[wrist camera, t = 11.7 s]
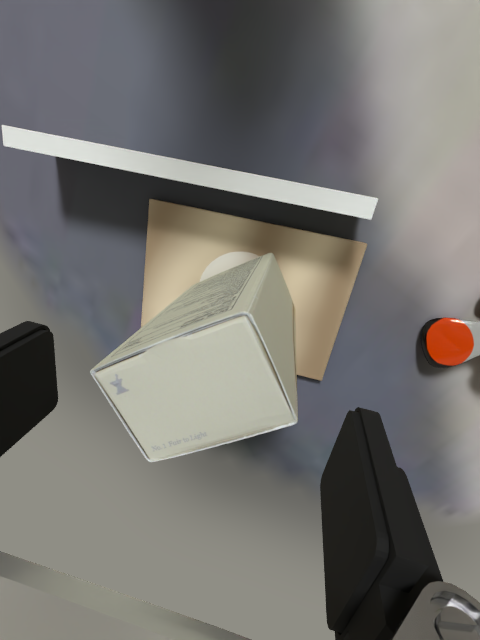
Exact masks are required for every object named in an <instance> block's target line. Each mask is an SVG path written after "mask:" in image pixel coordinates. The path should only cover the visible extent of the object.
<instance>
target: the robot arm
mask: <svg viewBox="0 0 480 640" xmlns="http://www.w3.org/2000/svg"><path fill="white" fill-rule="evenodd" d="M57 402H58V391H57V378H56V365H55V353H54V339H53V334H52V332H50V329H49V328H48V327H47V326H45V325H42V324H38V323H34V322H30V321H26V322H23V323H21V324H19V325H17V326H15V327H13V328H11V329H9V330H7V331H5V332H2V333H1V334H0V457H1V456H2V455H3V454H4V453H5V452H6V451H7V450H9V449H10V448H11V447H12V446H13V445H14V444H15V443H16V442H18V441H19V440H20V439H21V438H22V437H23V436H24V435H25V434H26V433H28V432H29V431H30V430H31V429H32V428H33V427H35V426H36V425H37V424H38V423H39V422H40V421H41V420H42V419H44V418H45V417H46V416H47V415H48V414H49V413H50V412H51V411H52V410H53V409H54V408H55V407H56V405H57ZM320 491H321V510H322V532H323V552H324V571H325V591H326V613H327V624H328V628H329V629H330V630H333V631H335V640H480V603H479V602H478V601H477V600H476V599H475V598H473V597H472V596H471V595H469V594H468V593H467V592H466V591H464V590H462V589H460V588H458V587H457V586H455V585H453V584H450V583H446V582H443V579H442V576H441V574H440V571H439V568H438V565H437V562H436V559H435V557H434V553H433V551H432V548H431V545H430V542H429V539H428V536H427V533H426V531H425V528H424V525H423V522H422V519H421V516H420V513H419V510H418V508H417V505H416V502H415V499H414V496H413V493H412V490H411V487H410V485H409V482H408V479H407V476H406V474H405V472H404V471H403V470H402V469H401V468H398V467H397V466H396V463H395V460H394V457H393V454H392V451H391V447H390V444H389V441H388V438H387V435H386V432H385V429H384V426H383V423H382V420H381V417H380V414H379V413H378V412H374V411H371V410H367V409H363V408H359V407H358V408H356V410H355V411H349V412H348V413H347V415H346V418H345V420H344V423H343V425H342V428H341V430H340V432H339V435H338V437H337V440H336V442H335V445H334V447H333V450H332V452H331V455H330V457H329V460H328V462H327V464H326V467H325V469H324V472H323V474H322V478H321V485H320ZM0 640H250V639H248V638H245V637H242V636H240V635H237V634H235V633H232V632H229V631H227V630H224V629H221V628H218V627H216V626H213V625H210V624H207V623H204V622H201V621H199V620H196V619H193V618H190V617H187V616H184V615H181V614H179V613H176V612H173V611H170V610H167V609H164V608H162V607H159V606H156V605H153V604H150V603H147V602H145V601H142V600H139V599H136V598H133V597H130V596H128V595H125V594H122V593H119V592H116V591H113V590H111V589H108V588H105V587H102V586H99V585H96V584H93V583H91V582H88V581H85V580H82V579H79V578H76V577H73V576H70V575H67V574H65V573H62V572H58V571H56V570H53V569H50V568H47V567H44V566H42V565H39V564H36V563H33V562H29V561H27V560H24V559H21V558H18V557H15V556H12V555H10V554H7V553H4V552H1V551H0Z"/></svg>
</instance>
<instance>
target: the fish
mask: <svg viewBox="0 0 480 640" xmlns="http://www.w3.org/2000/svg"><path fill="white" fill-rule="evenodd" d="M421 345H422V349H423V352H424V355H425V357H426V359H427V361H428V363H429V364H430V365H432V366H434V367H439V368H446V367H452V366H455V365H458V364H461V363H464V362H466V361H468V360H470V359H472V358H475V357H477V356H480V321H477V322H473V321H466V320H461V319H455V318H436V319H432V320H430V321H428V322H427V323H426V324H425V325H424V327H423V329H422V334H421Z"/></svg>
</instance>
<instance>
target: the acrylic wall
mask: <svg viewBox="0 0 480 640" xmlns="http://www.w3.org/2000/svg"><path fill="white" fill-rule="evenodd" d="M2 134H3V144H4V146H7V147H12V148H17V149H22V150H27V151H32V152H37V153H42V154H47V155H52V156H57V157H62V158H67V159H72V160H77V161H82V162H87V163H92V164H97V165H102V166H107V167H112V168H117V169H122V170H127V171H132V172H137V173H142V174H147V175H152V176H156V177H161V178H166V179H171V180H176V181H181V182H186V183H191V184H196V185H201V186H206V187H211V188H216V189H221V190H226V191H231V192H236V193H241V194H246V195H251V196H256V197H261V198H266V199H271V200H276V201H281V202H286V203H291V204H296V205H301V206H306V207H310V208H315V209H320V210H325V211H330V212H335V213H340V214H345V215H350V216H355V217H360V218H365V219H370V220H371V219H372V216H373V213H374V210H375V207H376V204H377V201H378V198H373V197H368V196H363V195H358V194H353V193H348V192H343V191H338V190H332V189H327V188H322V187H317V186H312V185H307V184H302V183H297V182H292V181H286V180H281V179H276V178H271V177H266V176H261V175H256V174H251V173H245V172H240V171H235V170H230V169H225V168H220V167H215V166H210V165H205V164H199V163H194V162H189V161H184V160H179V159H174V158H169V157H164V156H159V155H153V154H148V153H143V152H138V151H133V150H128V149H123V148H118V147H112V146H107V145H102V144H97V143H92V142H87V141H82V140H77V139H72V138H66V137H61V136H56V135H51V134H46V133H41V132H36V131H31V130H25V129H20V128H15V127H10V126H5V125H2Z"/></svg>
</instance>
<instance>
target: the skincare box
mask: <svg viewBox="0 0 480 640" xmlns="http://www.w3.org/2000/svg"><path fill="white" fill-rule="evenodd" d="M295 323H296V321H295V306H294V304H293V301H292V298H291V295H290V293H289V290H288V288H287V285H286V283H285V280H284V278H283V275H282V273H281V270H280V268H279V265H278V263H277V261H276V258H275V256H274V254H273V253H268V254H265V255H263V256H260V257H257V258H255V259H252V260H250V261H247V262H245V263H243V264H240V265H238V266H235V267H233V268H230V269H228V270H226V271H223V272H221V273H219V274H216V275H214V276H212V277H210V278H207V279H205V280H203V281H201V282H199V283H196V284H194V285H192V286H191V287H190V288H189V289H188V290H186V291H185V292H184V293H183V294H182V295H180V296H179V297H178V298H177V299H176V300H174V301H173V302H172V303H171V304H170V305H168V306H167V307H166V308H165V309H164V310H162V311H161V312H160V313H159V314H158V315H156V316H155V317H154V318H153V319H151V320H150V321H149V322H148V323H147V324H145V325H144V326H143V327H142V328H141V329H139V330H138V331H137V332H136V333H135V334H133V335H132V336H131V337H130V338H129V339H128V340H126V341H125V342H124V343H123V344H122V345H120V346H119V347H118V348H117V349H115V350H114V351H113V352H112V353H110V354H109V355H108V356H107V357H106V358H105V359H103V360H102V361H101V362H100V363H99V364H97V365H96V366H95V367H94V368H93V369H92V370H91V371H90V374H91V375H92V376H93V378H94V379H95V381H96V382H97V384H98V385H99V387H100V389H101V391H102V392H103V394H104V395H105V397H106V398H107V400H108V402H109V403H110V405H111V406H112V408H113V410H114V411H115V413H116V414H117V416H118V417H119V419H120V420H121V422H122V423H123V425H124V426H125V428H126V430H127V432H128V433H129V435H130V436H131V437H132V439H133V440H134V442H135V443H136V445H137V446H138V448H139V449H140V451H141V452H142V454H143V455H144V457H145V458H146V460H147V461H149V462H156V461H160V460H165V459H169V458H174V457H178V456H182V455H186V454H190V453H193V452H197V451H201V450H205V449H209V448H213V447H216V446H220V445H223V444H228V443H232V442H234V441H238V440H242V439H246V438H250V437H253V436H256V435H259V434H263V433H267V432H271V431H274V430H278V429H281V428H284V427H288V426H292V425H294V424H296V423H297V421H298V414H297V367H296V324H295Z"/></svg>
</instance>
